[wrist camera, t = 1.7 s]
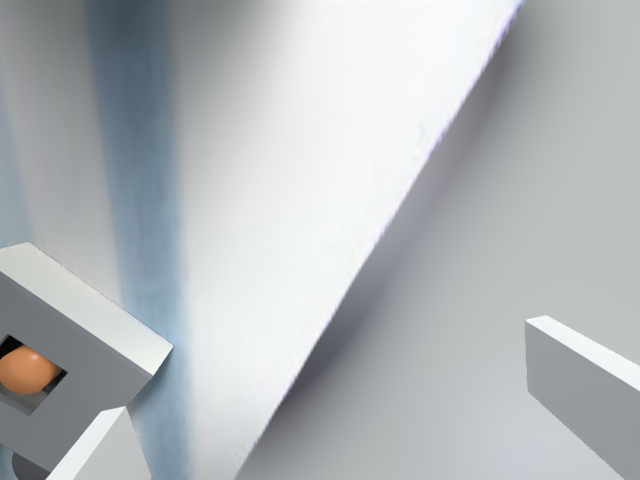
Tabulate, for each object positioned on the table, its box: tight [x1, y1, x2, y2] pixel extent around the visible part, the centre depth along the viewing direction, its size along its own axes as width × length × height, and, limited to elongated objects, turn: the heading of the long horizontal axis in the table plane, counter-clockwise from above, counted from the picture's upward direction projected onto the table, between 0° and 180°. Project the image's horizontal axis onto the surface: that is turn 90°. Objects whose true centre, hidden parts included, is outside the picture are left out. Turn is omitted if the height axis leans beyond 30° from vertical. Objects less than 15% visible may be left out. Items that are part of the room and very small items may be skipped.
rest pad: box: [12, 452, 51, 480], centre depth 37 cm, size 9×9×1 cm
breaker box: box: [0, 242, 173, 473], centre depth 31 cm, size 18×14×6 cm
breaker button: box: [0, 344, 62, 394], centre depth 30 cm, size 4×4×2 cm
